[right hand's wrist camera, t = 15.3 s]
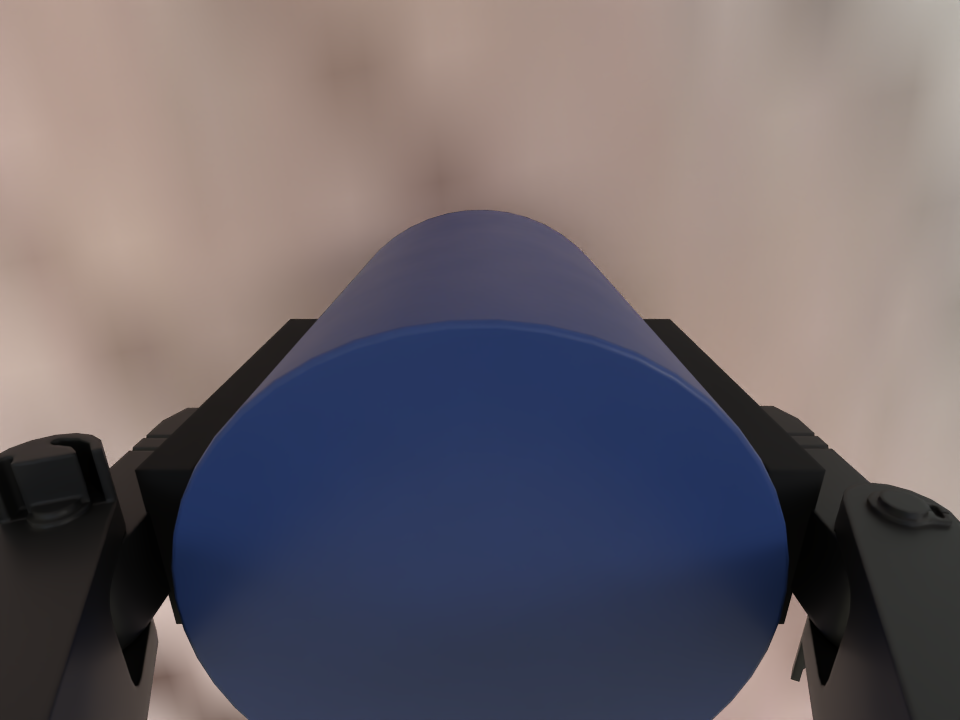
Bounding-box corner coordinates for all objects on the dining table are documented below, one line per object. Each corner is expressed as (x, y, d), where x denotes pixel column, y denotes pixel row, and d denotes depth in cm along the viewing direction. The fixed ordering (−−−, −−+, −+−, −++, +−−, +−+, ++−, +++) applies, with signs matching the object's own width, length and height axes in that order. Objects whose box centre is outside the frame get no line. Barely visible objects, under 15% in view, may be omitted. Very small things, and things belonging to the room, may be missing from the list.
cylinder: (334, 202, 14) (109, 303, 5) (638, 216, 14) (877, 338, 6) (347, 465, 17) (213, 796, 8) (600, 475, 17) (719, 811, 8)
